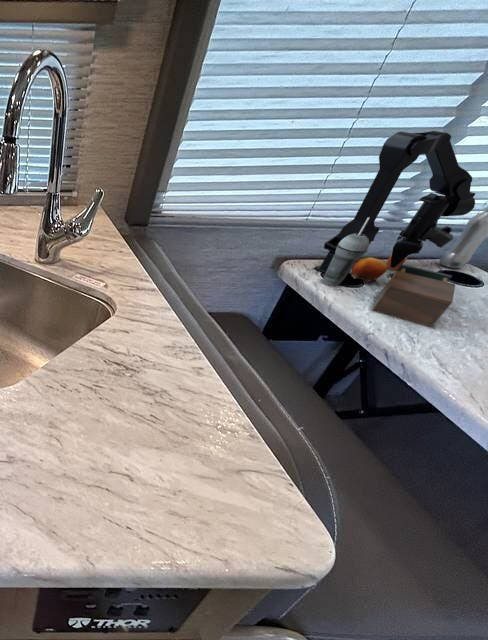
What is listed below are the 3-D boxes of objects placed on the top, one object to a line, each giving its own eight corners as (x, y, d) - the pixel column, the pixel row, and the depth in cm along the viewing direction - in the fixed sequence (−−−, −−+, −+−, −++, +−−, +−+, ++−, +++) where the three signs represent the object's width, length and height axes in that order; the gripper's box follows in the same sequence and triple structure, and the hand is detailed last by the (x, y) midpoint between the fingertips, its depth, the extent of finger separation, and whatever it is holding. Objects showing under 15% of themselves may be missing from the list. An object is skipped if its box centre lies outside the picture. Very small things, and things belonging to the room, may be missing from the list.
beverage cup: (318, 285, 122) (356, 220, 109) (315, 275, 127) (352, 213, 114) (346, 290, 119) (388, 224, 106) (342, 280, 124) (382, 216, 111)
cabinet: (379, 293, 117) (396, 270, 112) (435, 308, 110) (455, 284, 106) (372, 310, 110) (389, 286, 105) (430, 327, 103) (452, 302, 98)
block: (398, 270, 129) (406, 259, 126) (383, 267, 131) (390, 255, 128) (399, 266, 131) (407, 255, 128) (384, 263, 133) (392, 252, 131)
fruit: (346, 277, 123) (361, 252, 121) (342, 281, 129) (357, 258, 127) (378, 284, 119) (394, 259, 116) (373, 289, 125) (388, 264, 123)
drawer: (390, 277, 124) (402, 259, 120) (438, 288, 117) (452, 270, 114) (382, 295, 115) (395, 277, 111) (433, 309, 108) (449, 290, 105)
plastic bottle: (464, 272, 127) (517, 209, 114) (437, 267, 130) (486, 205, 117) (459, 264, 132) (510, 203, 119) (433, 260, 134) (480, 200, 121)
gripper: (460, 231, 111) (422, 280, 121) (463, 215, 121) (427, 262, 131) (410, 222, 117) (377, 270, 127) (417, 207, 127) (386, 253, 137)
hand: (393, 264), depth 130 cm, fingers open, 7 cm apart
